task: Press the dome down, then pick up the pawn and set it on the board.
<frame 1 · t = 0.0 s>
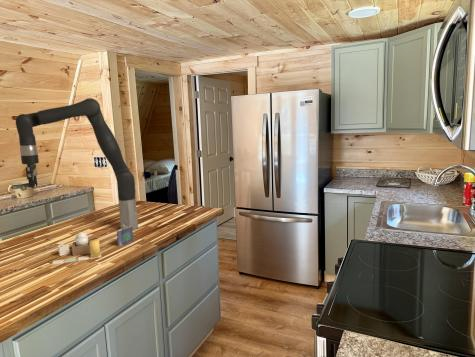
hand: (33, 185, 176), 29 cm above the worktop, fingers open, 8 cm apart
pawn: (95, 256, 153), point 1 cm above the worktop, touching board
board: (78, 257, 155), on the worktop
die: (64, 253, 158), point 1 cm above the worktop, touching board
dome: (81, 238, 158), point 7 cm above the worktop, slide at 0.0 cm
blue-grey square piece: (125, 246, 169), on the worktop
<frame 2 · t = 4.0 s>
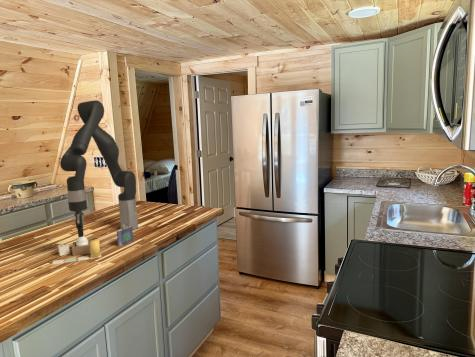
hand: (81, 236, 158), 9 cm above the worktop, fingers closed
dome: (82, 242, 159), point 6 cm above the worktop, slide at -1.9 cm, touching gripper
everything else where it was.
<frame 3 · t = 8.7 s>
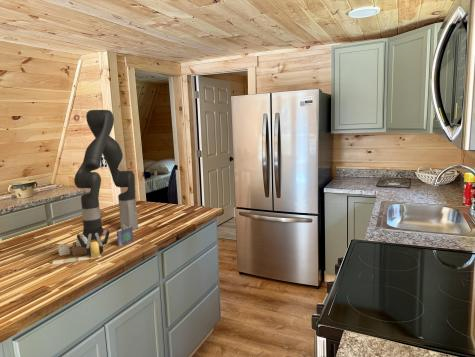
hand: (95, 254, 153), 2 cm above the worktop, fingers closed on pawn, 4 cm apart
pawn: (95, 256, 153), point 1 cm above the worktop, touching board, gripper
dome: (82, 243, 159), point 5 cm above the worktop, slide at -2.2 cm
everything else where it was.
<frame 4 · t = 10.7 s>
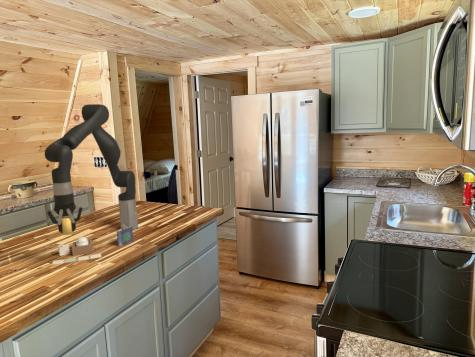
hand: (67, 231, 147), 14 cm above the worktop, fingers closed on pawn, 4 cm apart
pawn: (67, 233, 148), point 13 cm above the worktop, touching gripper
everything else where it was.
when the fingers open (3 cm above the worktop, at t = 12.9 s): pawn drops 1 cm, resting on board.
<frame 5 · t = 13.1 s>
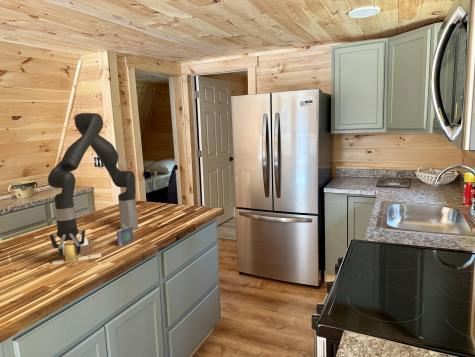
hand: (70, 254, 149), 4 cm above the worktop, fingers open, 5 cm apart
pawn: (70, 260, 150), point 1 cm above the worktop, touching board
everything else where it was.
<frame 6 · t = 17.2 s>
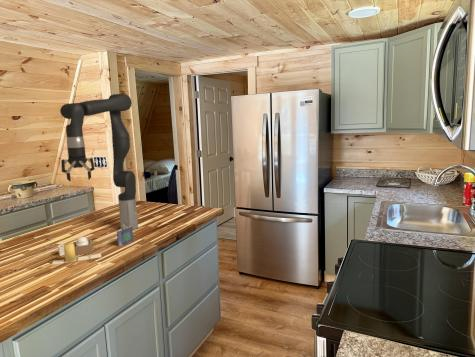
hand: (79, 180, 166), 33 cm above the worktop, fingers open, 8 cm apart
nothing on the worktop moved.
at the end: pawn 0.1 cm from the target spot, point 1.4 cm above the worktop; pawn tilted 1°; dome slide at -2.2 cm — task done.
